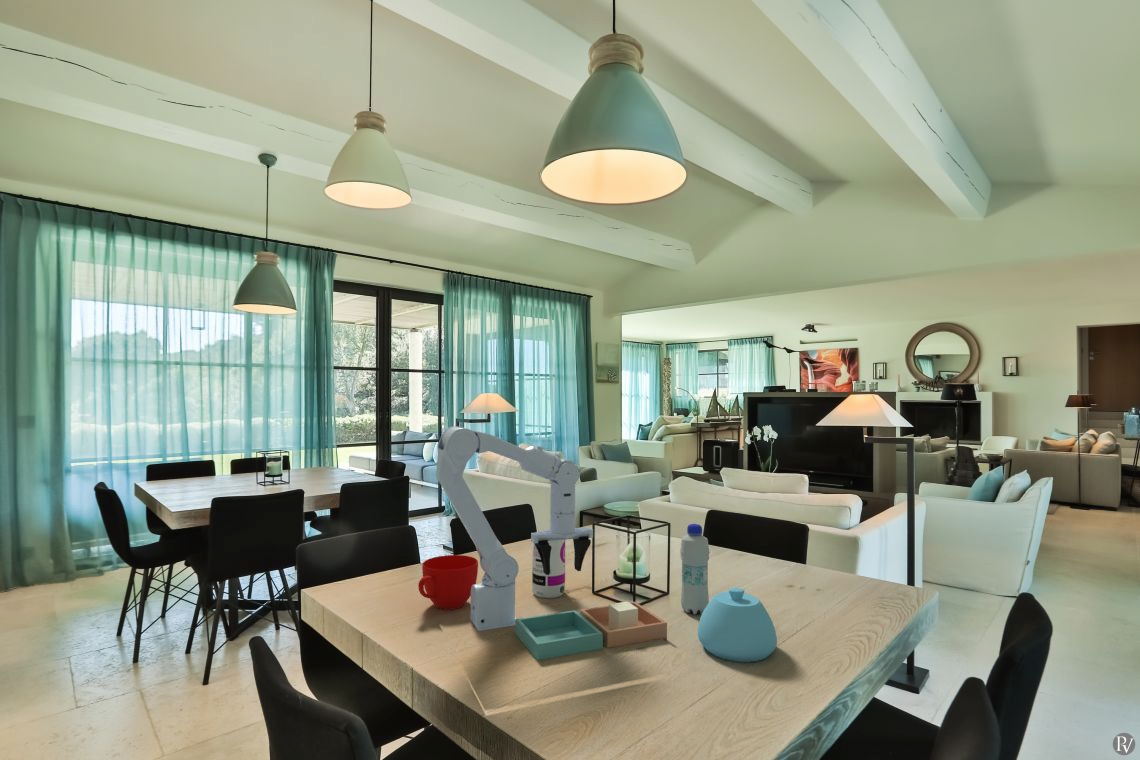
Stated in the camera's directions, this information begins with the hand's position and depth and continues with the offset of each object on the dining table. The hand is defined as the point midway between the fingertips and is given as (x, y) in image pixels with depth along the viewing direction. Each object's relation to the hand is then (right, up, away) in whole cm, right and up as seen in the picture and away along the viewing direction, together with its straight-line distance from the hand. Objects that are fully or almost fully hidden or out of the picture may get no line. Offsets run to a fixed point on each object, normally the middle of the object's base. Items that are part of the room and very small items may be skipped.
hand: (562, 571), depth 135 cm
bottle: (+31, -10, +2) cm, 32 cm away
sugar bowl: (+35, -9, -18) cm, 40 cm away
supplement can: (-4, -10, +13) cm, 17 cm away
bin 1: (-1, -9, -17) cm, 19 cm away
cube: (+13, -9, -12) cm, 19 cm away
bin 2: (+13, -9, -11) cm, 19 cm away
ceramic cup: (-28, -10, +3) cm, 29 cm away
